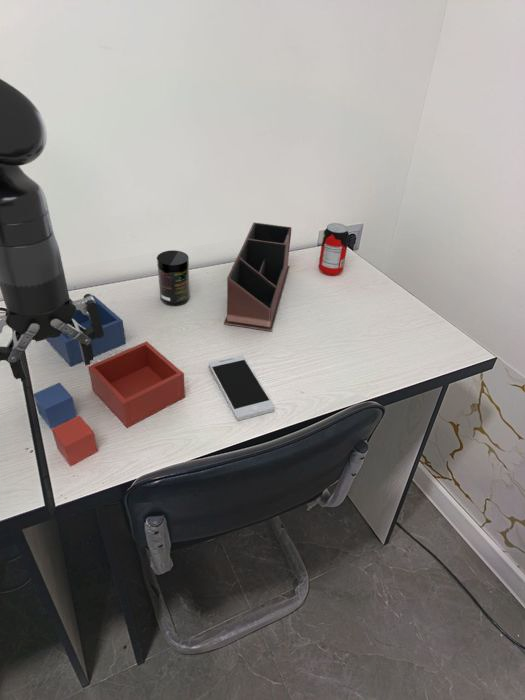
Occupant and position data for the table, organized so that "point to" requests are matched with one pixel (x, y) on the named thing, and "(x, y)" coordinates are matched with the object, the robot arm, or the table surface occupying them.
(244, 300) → the desk organizer
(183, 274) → the supplement container
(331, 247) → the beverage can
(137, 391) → the red bin
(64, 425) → the red block
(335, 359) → the table surface
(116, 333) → the blue bin
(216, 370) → the smartphone
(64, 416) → the blue block
